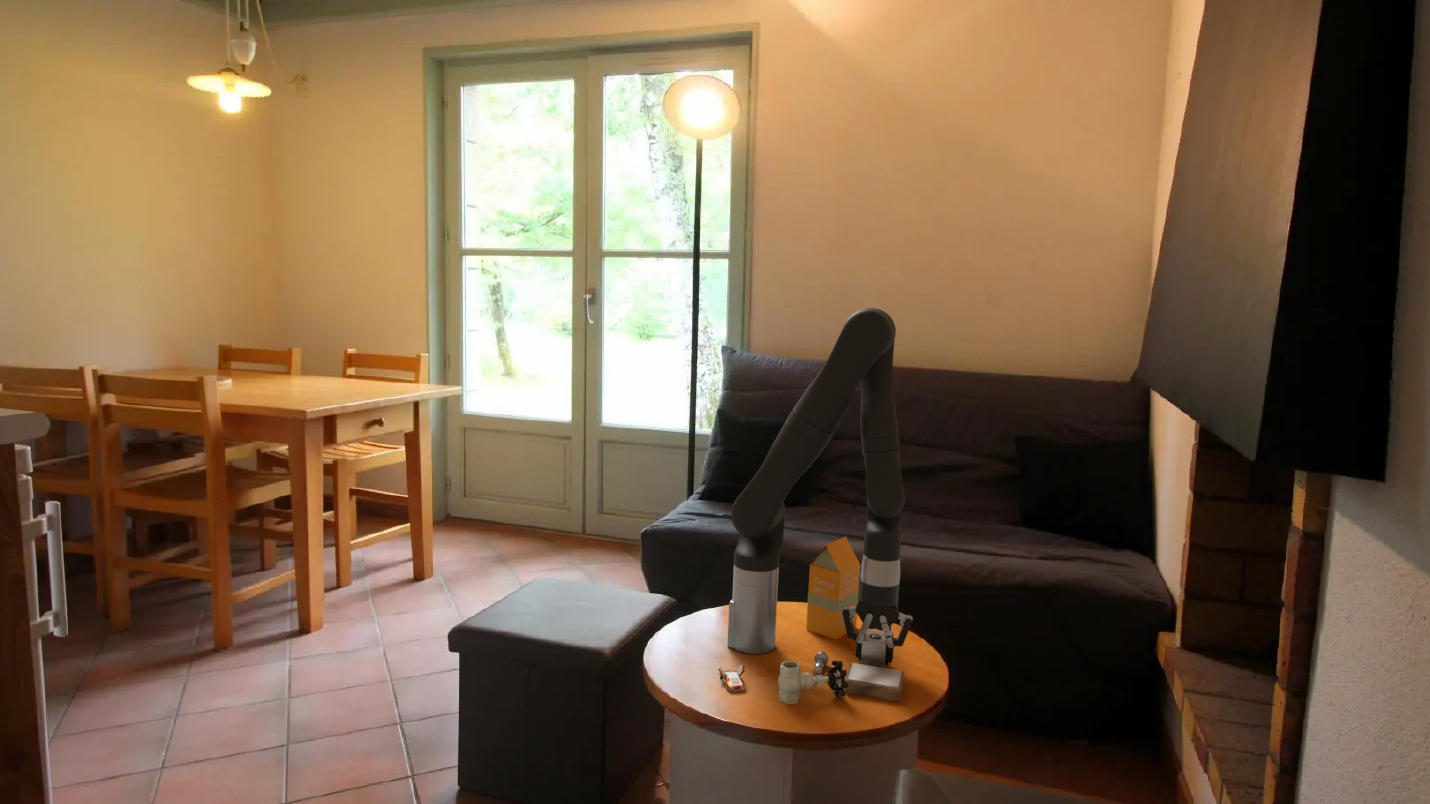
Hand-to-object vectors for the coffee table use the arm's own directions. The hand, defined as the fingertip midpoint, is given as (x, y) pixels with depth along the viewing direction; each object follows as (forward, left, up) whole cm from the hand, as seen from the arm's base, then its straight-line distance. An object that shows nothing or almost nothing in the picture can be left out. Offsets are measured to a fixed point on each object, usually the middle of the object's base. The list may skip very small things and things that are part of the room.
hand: (873, 661), depth 167 cm
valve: (-10, -17, -1) cm, 20 cm away
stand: (+1, -9, -1) cm, 9 cm away
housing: (0, 0, -1) cm, 1 cm away
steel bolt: (-10, -6, -1) cm, 12 cm away
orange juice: (-11, +16, -1) cm, 19 cm away
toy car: (-24, -17, -2) cm, 30 cm away
